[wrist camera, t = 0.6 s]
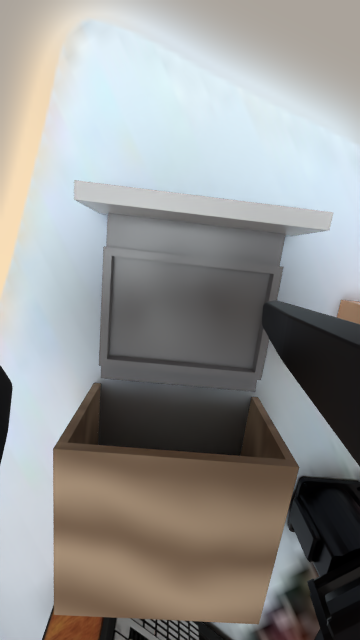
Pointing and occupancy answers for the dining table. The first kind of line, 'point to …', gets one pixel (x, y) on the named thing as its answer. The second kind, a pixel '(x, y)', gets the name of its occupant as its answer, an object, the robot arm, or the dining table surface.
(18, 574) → the dining table surface
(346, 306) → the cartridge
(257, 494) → the box
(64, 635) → the radio cassette player
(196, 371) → the tray
